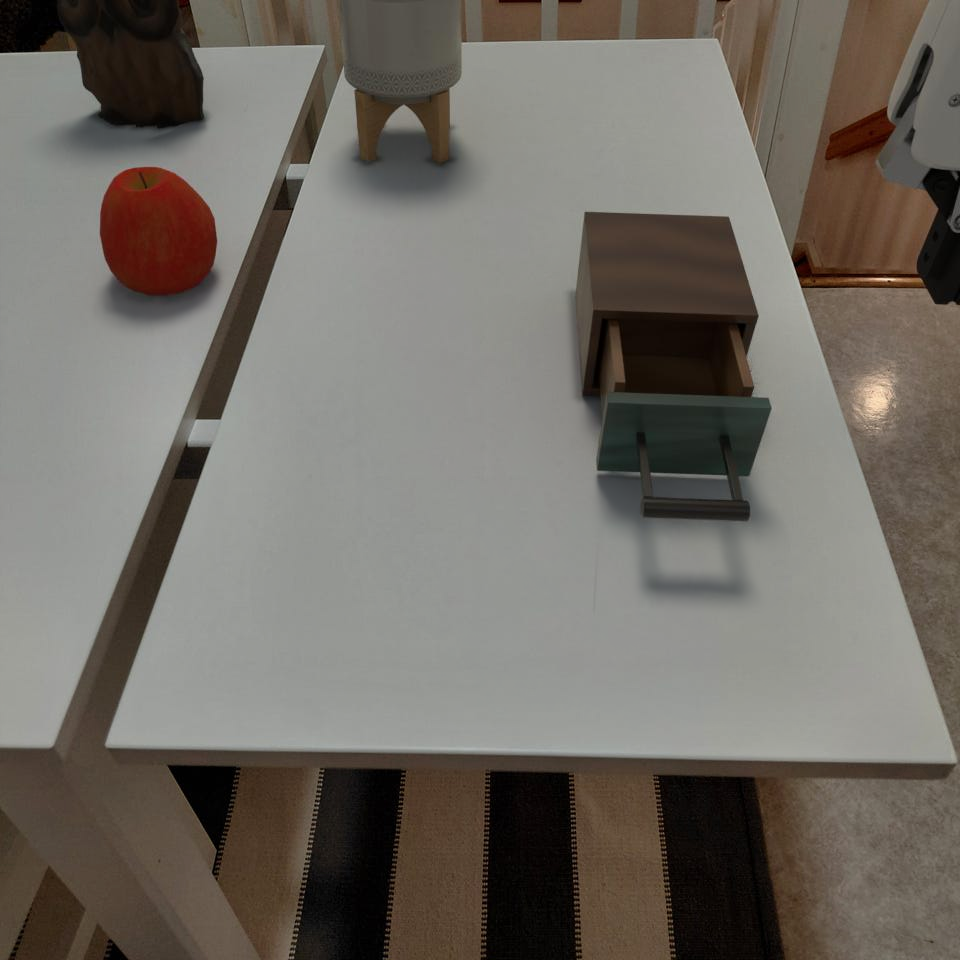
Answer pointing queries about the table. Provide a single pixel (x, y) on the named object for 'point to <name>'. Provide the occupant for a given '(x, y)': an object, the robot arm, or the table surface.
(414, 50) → the planter
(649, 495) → the drawer
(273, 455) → the table surface
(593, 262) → the cabinet
